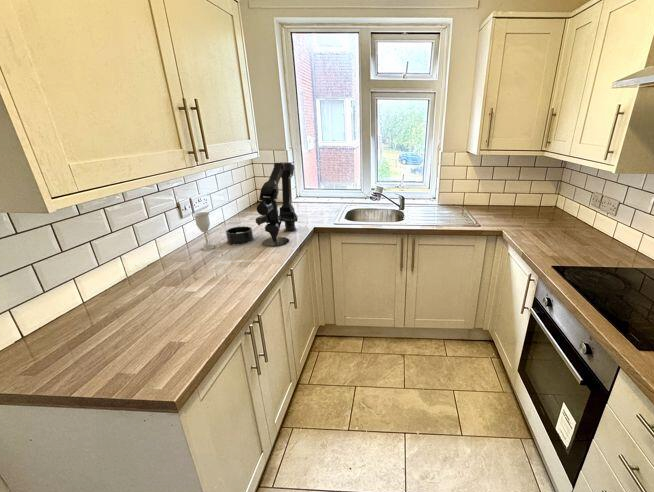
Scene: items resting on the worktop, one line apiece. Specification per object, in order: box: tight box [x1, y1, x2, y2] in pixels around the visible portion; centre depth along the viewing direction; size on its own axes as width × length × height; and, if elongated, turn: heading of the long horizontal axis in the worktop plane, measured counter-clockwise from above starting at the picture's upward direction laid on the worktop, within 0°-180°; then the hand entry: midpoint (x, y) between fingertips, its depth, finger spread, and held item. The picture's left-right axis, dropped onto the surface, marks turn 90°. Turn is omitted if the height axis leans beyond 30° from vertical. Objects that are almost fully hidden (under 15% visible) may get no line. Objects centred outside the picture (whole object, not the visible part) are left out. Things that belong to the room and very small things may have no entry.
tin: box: [225, 225, 254, 246], centre depth 169 cm, size 13×13×6 cm
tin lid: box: [262, 234, 290, 248], centre depth 168 cm, size 14×14×6 cm
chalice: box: [192, 211, 215, 251], centre depth 157 cm, size 7×7×18 cm
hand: (275, 238), depth 168 cm, fingers open, 9 cm apart
